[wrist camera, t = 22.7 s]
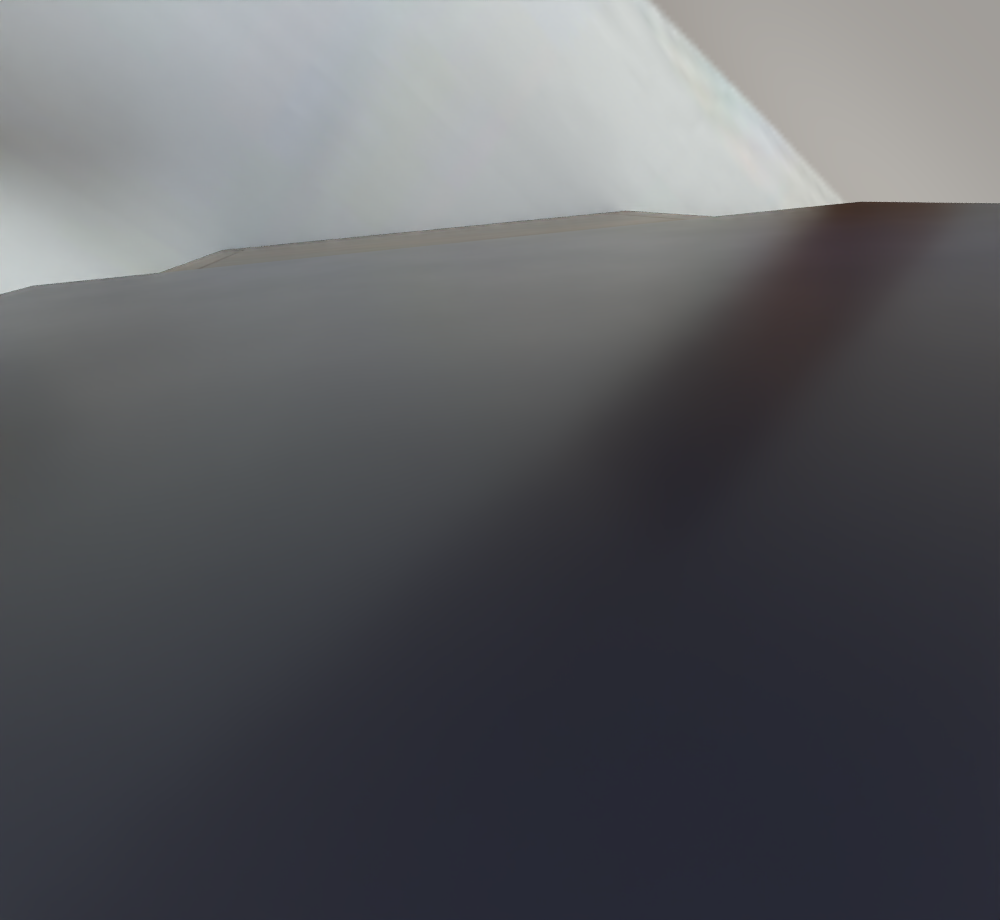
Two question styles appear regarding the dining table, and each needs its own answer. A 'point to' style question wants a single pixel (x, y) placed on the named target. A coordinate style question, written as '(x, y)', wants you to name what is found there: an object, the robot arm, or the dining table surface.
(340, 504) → the lid
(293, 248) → the chest
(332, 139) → the dining table surface
